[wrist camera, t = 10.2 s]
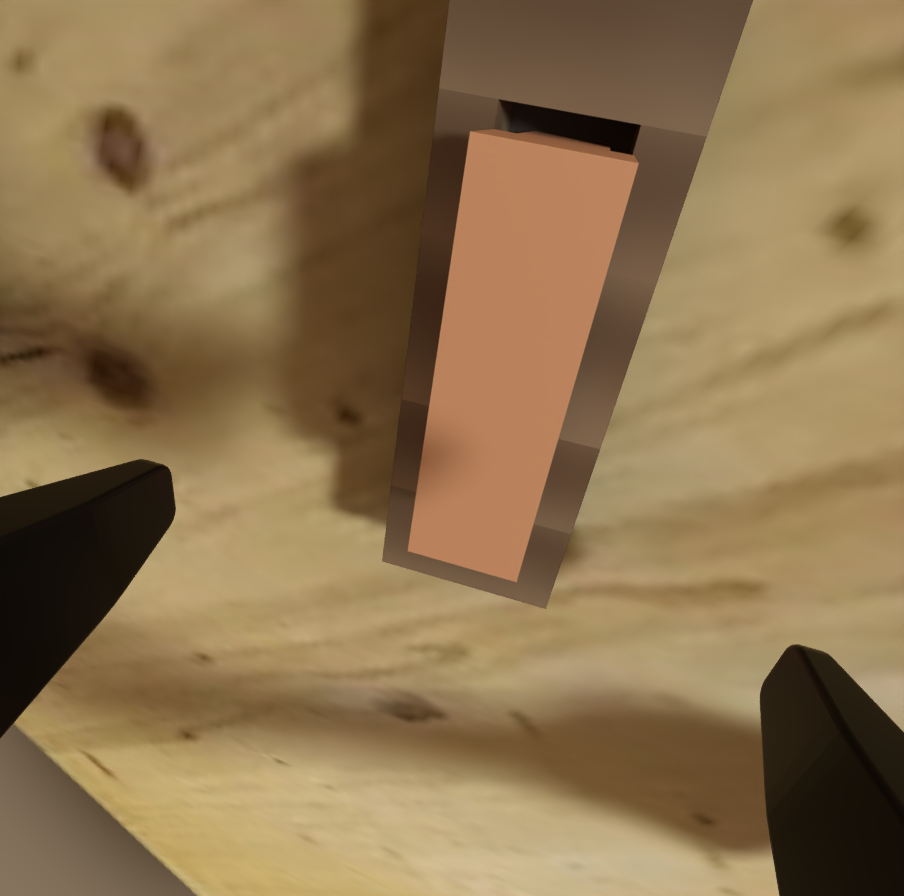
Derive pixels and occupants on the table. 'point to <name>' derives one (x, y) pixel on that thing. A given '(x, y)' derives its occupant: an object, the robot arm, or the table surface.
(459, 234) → the clip
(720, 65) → the rail
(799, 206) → the table surface
